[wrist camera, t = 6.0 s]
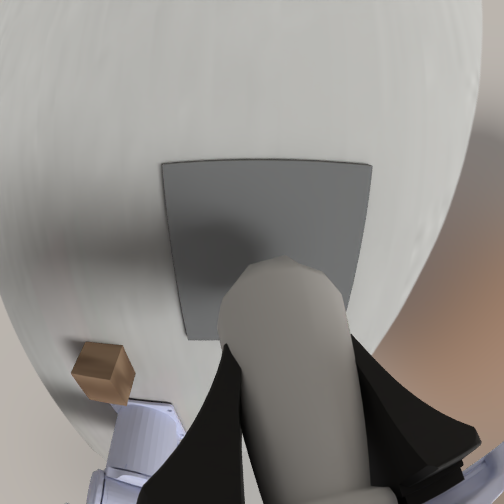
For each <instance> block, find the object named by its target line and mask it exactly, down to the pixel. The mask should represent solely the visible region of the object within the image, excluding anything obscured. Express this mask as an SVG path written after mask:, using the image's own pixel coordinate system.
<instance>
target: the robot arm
mask: <svg viewBox="0 0 504 504" xmlns="http://www.w3.org/2000/svg"><path fill="white" fill-rule="evenodd" d="M351 339H352V344H353V349H354V355H355V362H356V366H357V372H358V377H359V384H360V390H361V397H362V404H363V411H364V418H365V427H366V435H367V445H368V456H369V468H370V484H371V486H378V487H389V488H390V489H391V490H392V491H393V493H394V494H395V496H396V498H397V501H398V504H491V503H492V502H493V501H494V500H495V499H496V498H497V497H498V496H499V495H500V494H501V493H502V492H503V491H504V442H502V443H501V444H500V445H499V446H497V447H496V448H495V449H494V450H492V451H491V452H489V453H488V454H487V455H485V456H484V457H483V458H481V459H480V460H479V461H477V462H476V463H474V464H473V465H471V466H470V467H468V468H467V469H466V470H464V471H463V472H462V471H461V468H460V467H462V466H463V461H462V459H463V458H464V457H466V456H467V455H468V454H470V453H471V452H472V451H474V450H475V449H476V448H477V447H479V446H480V445H481V440H480V438H479V436H478V433H477V431H476V429H475V428H474V427H472V426H470V425H467V424H464V423H462V422H459V421H457V420H455V419H452V418H451V417H448V416H446V415H444V414H442V413H441V412H439V411H437V410H435V409H434V408H432V407H431V406H429V405H428V404H426V403H424V402H423V401H421V400H420V399H419V398H417V397H416V396H414V395H413V394H412V393H411V392H409V391H408V390H407V389H406V388H404V387H403V386H402V385H401V384H399V382H397V381H396V380H395V379H394V378H393V377H392V376H391V375H390V374H389V373H388V372H387V371H385V369H384V368H383V367H382V366H381V365H380V364H379V363H378V362H377V361H376V360H375V359H374V358H373V357H372V356H371V355H370V354H369V353H368V352H367V351H366V349H365V348H364V347H363V346H362V345H361V344H360V343H359V342H358V341H357V340H356V339H355V337H354V336H353V335H352V334H351ZM241 370H242V369H241V367H240V366H239V364H238V362H237V361H236V359H235V358H234V356H233V355H232V353H231V351H230V348H229V346H228V344H227V343H226V344H225V345H224V346H223V352H222V357H221V361H220V364H219V367H218V370H217V373H216V376H215V378H214V381H213V383H212V386H211V388H210V391H209V393H208V395H207V397H206V399H205V401H204V403H203V405H202V407H201V409H200V411H199V413H198V415H197V417H196V418H195V420H194V422H193V424H192V425H191V427H190V428H189V430H188V432H187V433H186V432H185V430H184V428H183V426H182V424H181V422H180V420H179V418H178V415H177V413H176V411H175V409H174V407H173V405H171V404H166V403H155V402H145V401H137V400H129V399H128V403H127V406H123V405H117V404H111V403H110V404H111V406H112V407H113V409H114V410H115V411H116V413H117V414H118V416H117V420H116V424H115V428H114V432H113V437H112V441H111V446H110V450H109V455H108V460H107V465H106V468H105V470H104V471H103V470H100V469H98V470H97V471H94V472H93V473H92V477H91V481H90V485H89V490H88V495H87V503H86V504H245V498H244V484H243V483H244V482H243V465H242V430H241V426H240V411H241ZM180 439H182V441H181V442H180ZM65 504H68V503H65Z"/></svg>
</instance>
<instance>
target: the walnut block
mask: <svg viewBox="0 0 504 504" xmlns="http://www.w3.org/2000/svg"><path fill="white" fill-rule="evenodd" d="M71 374H72V376H73V377H74V379H75V380H76V382H77V383H78V384H79V386H80V387H81V389H82V390H83V391H84V393H85V394H86V395H87V397H88V398H89V399H90V400H95V401H100V402H105V403H111V404H117V405H123V406H127V403H128V399H129V395H130V392H131V388H132V384H133V381H134V377H135V371H134V369H133V367H132V365H131V363H130V361H129V358H128V356H127V354H126V352H125V350H124V347H123V345H113V344H103V343H93V342H85V344H84V346H83V348H82V350H81V352H80V354H79V357H78V359H77V361H76V363H75V365H74V367H73V370H72V372H71Z"/></svg>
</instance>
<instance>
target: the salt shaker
mask: <svg viewBox="0 0 504 504" xmlns="http://www.w3.org/2000/svg"><path fill="white" fill-rule="evenodd" d="M217 330H218V335H219V339H220V344H221V349H222V352H223V346H224V345H225V344H226V343H227V344H228V346H229V348H230V351H231V353H232V355H233V356H234V358H235V359H236V361H237V362H238V364H239V366H240V367H241V369H242V370H241V411H240V426H241V430H242V434H243V437H244V441H245V444H246V448H247V452H248V455H249V458H250V462H251V465H252V468H253V472H254V475H255V478H256V482H257V485H258V488H259V491H260V494H261V497H262V500H263V504H398V501H397V498H396V496H395V494H394V493H393V491H392V490H391V489H390V488H389V487H378V486H371V484H370V468H369V456H368V445H367V435H366V427H365V418H364V411H363V404H362V397H361V390H360V384H359V377H358V372H357V366H356V362H355V355H354V349H353V344H352V339H351V334H350V329H349V325H348V320H347V315H346V311H345V306H344V302H343V298H342V294H341V293H340V292H339V290H338V289H337V288H336V287H335V286H334V284H333V283H332V282H331V281H330V280H329V279H328V277H327V276H326V275H325V274H324V273H323V272H322V271H319V270H316V269H314V268H311V267H308V266H305V265H302V264H299V263H297V262H296V261H294V260H293V259H291V258H289V257H288V256H286V255H283V256H280V257H276V258H272V259H269V260H265V261H261V262H258V263H254V264H250V265H249V266H248V267H247V268H246V269H245V271H244V272H243V273H242V275H241V276H240V277H239V278H238V280H237V281H236V282H235V284H234V285H233V286H232V287H231V289H230V290H229V291H228V292H227V294H226V295H225V296H224V297H223V299H222V303H221V306H220V312H219V318H218V324H217Z"/></svg>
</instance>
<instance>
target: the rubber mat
mask: <svg viewBox="0 0 504 504" xmlns="http://www.w3.org/2000/svg"><path fill="white" fill-rule="evenodd" d="M372 167H373V166H371V165H366V164H355V163H343V162H329V161H311V160H278V159H241V160H209V161H191V162H176V163H164V164H163V165H162V168H163V180H164V191H165V201H166V210H167V218H168V226H169V234H170V242H171V249H172V255H173V262H174V268H175V275H176V281H177V286H178V292H179V298H180V303H181V308H182V313H183V318H184V323H185V328H186V333H187V338H188V340H220V339H219V335H218V330H217V324H218V318H219V312H220V306H221V303H222V299H223V297H224V296H225V295H226V294H227V292H228V291H229V290H230V289H231V287H232V286H233V285H234V284H235V282H236V281H237V280H238V278H239V277H240V276H241V275H242V273H243V272H244V271H245V269H246V268H247V267H248V266H249V265H250V264H254V263H258V262H261V261H265V260H269V259H272V258H276V257H280V256H283V255H286V256H288V257H289V258H291V259H293V260H294V261H296V262H297V263H299V264H302V265H305V266H308V267H311V268H314V269H316V270H319V271H322V272H323V273H324V274H325V275H326V276H327V277H328V279H329V280H330V281H331V282H332V283H333V284H334V286H335V287H336V288H337V289H338V290H339V292H340V293H341V294H342V298H343V302H344V306H345V311H346V310H347V306H348V302H349V298H350V294H351V290H352V286H353V282H354V277H355V273H356V268H357V263H358V258H359V253H360V248H361V243H362V237H363V232H364V226H365V220H366V213H367V207H368V200H369V192H370V185H371V176H372Z"/></svg>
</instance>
